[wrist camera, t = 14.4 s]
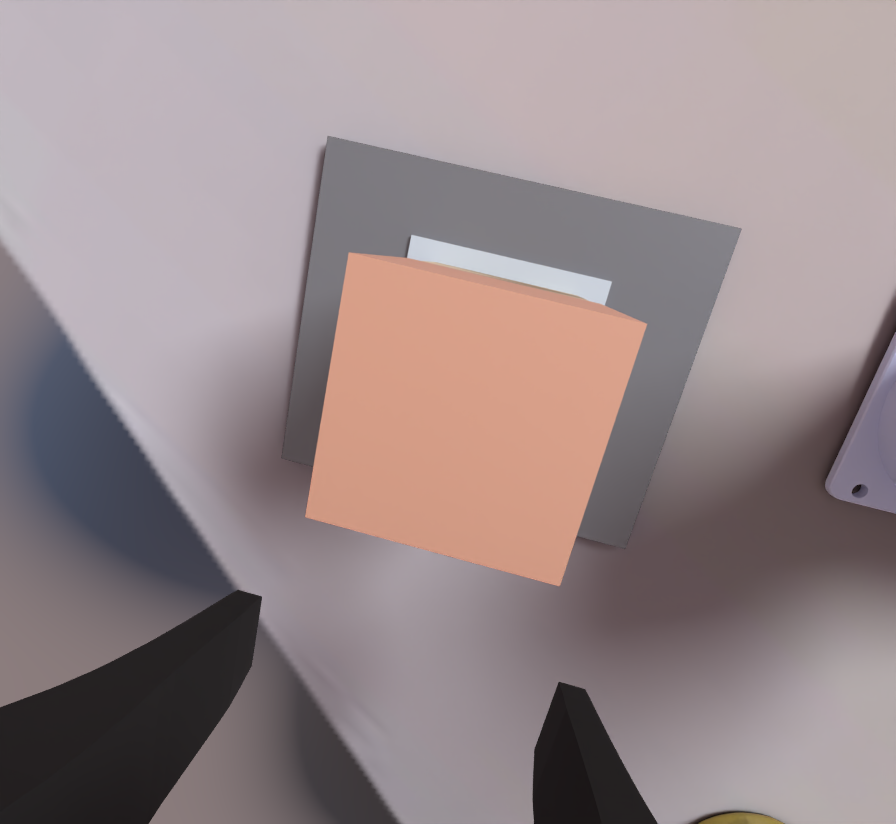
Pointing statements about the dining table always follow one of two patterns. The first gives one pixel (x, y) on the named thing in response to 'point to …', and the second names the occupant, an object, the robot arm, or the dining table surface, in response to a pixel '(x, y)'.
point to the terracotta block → (467, 413)
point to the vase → (741, 819)
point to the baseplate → (528, 261)
